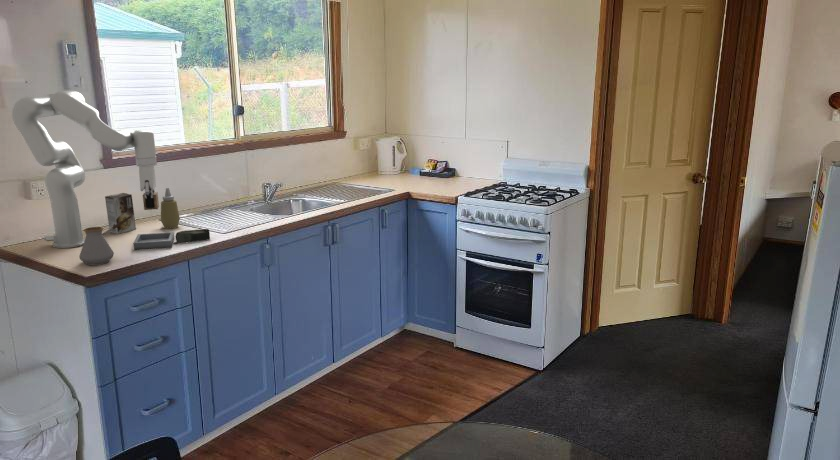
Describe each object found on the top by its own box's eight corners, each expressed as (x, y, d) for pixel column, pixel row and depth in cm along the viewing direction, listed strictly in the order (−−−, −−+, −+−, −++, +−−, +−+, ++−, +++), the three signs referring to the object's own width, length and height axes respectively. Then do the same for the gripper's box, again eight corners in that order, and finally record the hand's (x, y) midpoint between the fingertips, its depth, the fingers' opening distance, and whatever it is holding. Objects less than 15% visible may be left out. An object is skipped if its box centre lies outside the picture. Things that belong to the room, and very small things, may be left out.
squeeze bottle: (160, 226, 283) (156, 187, 278) (179, 224, 286) (175, 186, 282) (162, 230, 276) (158, 190, 271) (181, 228, 279) (178, 189, 275)
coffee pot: (90, 269, 223) (85, 228, 219) (74, 263, 229) (68, 224, 225) (145, 255, 240) (141, 217, 236) (128, 249, 246) (124, 213, 242)
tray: (134, 250, 245) (133, 243, 245) (138, 241, 258) (137, 234, 258) (171, 247, 249) (171, 240, 249) (174, 238, 262) (173, 231, 262)
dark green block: (208, 227, 263) (171, 231, 255) (210, 229, 261) (172, 233, 252) (208, 239, 264) (172, 243, 256) (210, 240, 262) (173, 244, 254)
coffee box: (127, 227, 280) (123, 192, 276) (136, 229, 277) (132, 194, 272) (108, 231, 272) (104, 196, 268) (117, 234, 269) (113, 197, 265)
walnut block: (144, 209, 247) (142, 195, 245) (145, 207, 252) (144, 192, 250) (157, 209, 248) (156, 194, 247) (159, 206, 253) (157, 192, 251)
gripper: (138, 159, 252) (143, 202, 257) (133, 165, 236) (138, 211, 241) (158, 158, 254) (163, 201, 259) (154, 164, 238) (159, 210, 243)
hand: (151, 205), depth 250 cm, fingers closed on walnut block, 5 cm apart
